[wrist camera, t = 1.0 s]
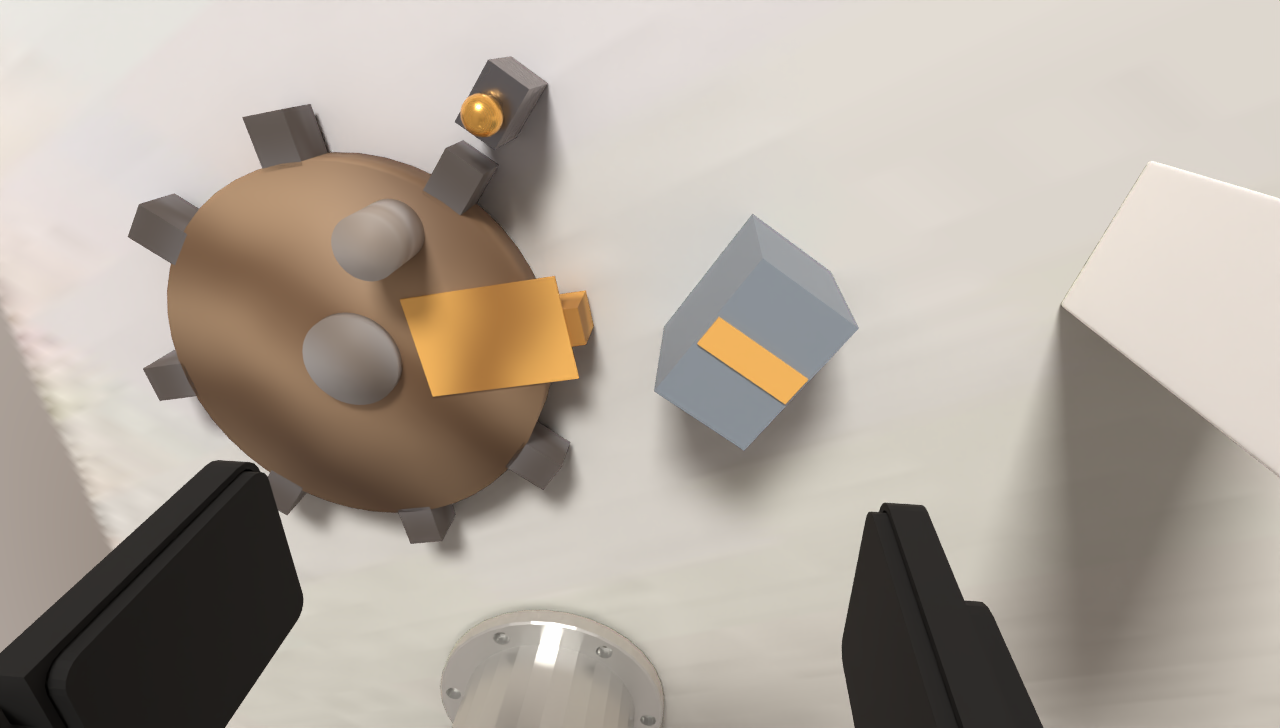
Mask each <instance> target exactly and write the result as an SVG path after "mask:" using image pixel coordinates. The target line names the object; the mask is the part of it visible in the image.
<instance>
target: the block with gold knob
mask: <svg viewBox="0 0 1280 728" xmlns="http://www.w3.org/2000/svg"><path fill="white" fill-rule="evenodd" d="M547 84H548V83H547V82H545V81H544V80H543V79H541V78H540V77H539V76H537V75H536V74H534V73H533V72H532V71H530V70H529V69H528V68H526V67H525V66H524V65H522V64H521V63H519V62H518V61H517V60H515V59H514V58H513V57H504V58H497V59H489V60H488V61H487V63H486V65H485V67H484V68H483V70H482V72H481V74H480V76H479V78H478V80H477V81H476V83H475V85H474V87H473V89H472V91H471V93H470V94H469V96H468V98H467V99H466V100H465V101H464V103H463V104H462V107H461V111H460V113H459V115H458V117H457V119H456V121H455V122H456V123H457V124H458V125H460V126H461V127H463V128H464V129H466V130H467V131H468V132H470V133H471V134H473V135H474V136H476V137H477V138H478V139H480V140H481V141H483V142H484V143H486V144H487V145H488V146H490V147H491V148H493V149H494V150H495V149H497V148H499V147H500V146H502V145H504V144H506V143H508V142H509V141H511V140H513V139H515V138H516V137H517V135H518V133H519V132H520V130H521V128H522V127H523V125H524V123H525V121H526V120H527V118H528V116H529V115H530V113H531V111H532V109H533V108H534V106H535V104H536V103H537V101H538V99H539V98H540V96H541V94H542V92H543V91H544V89H545V87H546V86H547Z"/></svg>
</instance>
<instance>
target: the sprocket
mask: <svg viewBox="0 0 1280 728" xmlns="http://www.w3.org/2000/svg"><path fill="white" fill-rule="evenodd" d="M242 118H243V120H244V123H245V125H246V128H247V130H248V133H249V135H250V138H251V140H252V143H253V146H254V148H255V151H256V153H257V156H258V158H259V161H260V163H261V166H262V169H259V170H256V171H254V172H252V173H250V174H247V175H245V176H243V177H241V178H239V179H236V180H234V181H233V182H231V183H230V184H228V185H227V186H225V187H224V188H222V189H221V190H220V191H218V192H217V193H215V194H214V195H213V196H212V197H211V198H210V199H209V200H208V201H207V202H206V203H205V204H204V205H203V206H202V207H201V208H200V209H198V208H197V207H195V206H194V205H192V204H190V203H189V202H187V201H186V200H184V199H182V198H181V197H179V196H178V195H176V194H171V195H168V196H165V197H161V198H158V199H155V200H151V201H148V202H145V203H142V204H139V206H138V209H137V212H136V215H135V217H134V220H133V223H132V226H131V229H130V232H129V235H128V237H129V238H130V239H132V240H134V241H135V242H137V243H139V244H140V245H142V246H144V247H145V248H147V249H148V250H150V251H152V252H153V253H155V254H157V255H158V256H160V257H162V258H163V259H165V260H167V261H168V262H170V263H171V267H170V273H169V280H168V288H167V303H168V318H169V324H170V330H171V336H172V340H173V343H174V346H175V350H173V351H172V352H170V353H168V354H167V355H165V356H163V357H162V358H160V359H158V360H157V361H155V362H153V363H152V364H150V365H148V366H147V367H145V368H143V370H144V372H145V374H146V375H147V377H148V379H149V381H150V383H151V385H152V387H153V389H154V391H155V393H156V394H157V396H158V398H159V400H160V401H162V400H170V399H177V398H185V397H193V396H197V398H198V400H199V401H200V403H201V404H202V405H203V407H204V408H205V410H206V411H207V412H208V414H209V415H210V417H211V418H212V419H213V421H214V422H215V423H216V424H217V425H218V426H219V427H220V429H221V430H222V431H223V432H224V433H225V434H226V435H227V437H228V438H229V439H230V440H231V441H232V442H234V443H235V444H236V445H237V446H238V447H239V448H240V449H241V450H242V451H243V452H244V453H245V454H246V455H248V456H249V457H250V458H252V459H253V460H254V461H255V462H257V463H258V464H259V465H261V466H262V467H263V468H265V469H266V470H267V471H269V472H270V474H269V476H268V479H269V482H270V485H271V488H272V492H273V495H274V499H275V502H276V505H277V509H278V510H279V511H280V512H282V513H284V514H286V515H288V514H289V513H290V511H291V510H292V509H293V508H294V507H295V506H296V505H297V503H298V502H299V501H300V500H301V499H302V498H303V497H304V495H305V494H306V493H309V494H311V495H314V496H317V497H319V498H322V499H324V500H327V501H330V502H333V503H337V504H340V505H344V506H347V507H351V508H357V509H363V510H368V511H377V512H391V513H397V512H398V513H399V515H400V518H401V520H402V523H403V526H404V528H405V531H406V533H407V536H408V538H409V541H410V543H411V544H414V543H425V542H436V541H442V540H443V538H444V536H445V534H446V533H447V531H448V529H449V527H450V525H451V523H452V521H453V519H454V517H455V515H456V514H455V511H454V508H453V505H452V504H453V503H456V502H458V501H460V500H463V499H465V498H467V497H470V496H472V495H474V494H475V493H477V492H479V491H480V490H482V489H484V488H485V487H487V486H488V485H490V484H491V483H492V482H494V481H495V480H496V479H497V478H498V477H499V476H501V475H502V474H503V473H504V472H505V471H506V470H507V469H510V470H511V471H513V472H515V473H516V474H518V475H520V476H521V477H523V478H524V479H526V480H528V481H529V482H531V483H533V484H534V485H536V486H538V487H539V488H541V489H543V490H544V488H545V487H546V486H547V485H548V483H549V482H550V481H551V479H552V478H553V477H554V476H555V474H556V473H557V472H558V471H559V469H560V468H561V467H562V465H563V462H564V459H565V456H566V453H567V450H568V447H569V444H570V442H569V441H567V440H566V439H564V438H563V437H561V436H559V435H558V434H556V433H555V432H553V431H552V430H550V429H548V428H547V427H545V426H544V425H542V424H540V423H539V422H537V420H538V418H539V415H540V413H541V411H542V408H543V406H544V404H545V401H546V399H547V395H548V391H549V388H550V384H551V382H555V381H563V380H571V379H579V374H578V370H577V366H576V362H575V358H574V354H573V349H572V346H580V345H586V344H587V341H588V339H589V336H590V334H591V331H592V328H593V326H594V325H593V321H592V316H591V312H590V307H589V303H588V299H587V294H586V291H579V292H572V293H566V294H559V291H558V287H557V283H556V279H555V276H552V277H545V278H538V279H536V278H535V276H534V274H533V272H532V270H531V268H530V266H529V265H528V263H527V262H526V260H525V258H524V257H523V255H522V254H521V252H520V250H519V249H518V247H517V246H516V245H515V244H514V242H513V241H512V240H511V239H510V237H509V236H508V235H507V234H506V232H505V231H504V230H503V229H502V227H501V226H500V225H499V224H498V223H497V222H496V221H495V220H494V219H493V218H492V217H491V216H489V215H488V214H487V213H486V212H485V211H484V210H483V209H482V208H481V207H480V206H479V205H477V204H476V203H477V201H478V200H479V198H480V196H481V195H482V193H483V191H484V189H485V188H486V186H487V184H488V183H489V181H490V179H491V177H492V176H493V174H494V172H495V171H496V169H497V167H498V164H497V163H495V162H494V161H492V160H491V159H489V158H488V157H486V156H485V155H484V154H482V153H481V152H479V151H478V150H476V149H475V148H474V147H472V146H471V145H469V144H468V143H466V142H465V141H464V140H463V141H461V142H458V143H456V144H454V145H452V146H450V147H447V148H446V149H445V150H444V152H443V154H442V156H441V158H440V160H439V162H438V163H437V165H436V167H435V169H434V171H433V173H432V174H429V173H427V172H425V171H422V170H420V169H418V168H416V167H413V166H411V165H408V164H405V163H401V162H398V161H395V160H392V159H388V158H385V157H379V156H373V155H367V154H361V153H340V152H332V153H328V152H327V149H326V146H325V143H324V141H323V138H322V135H321V132H320V129H319V126H318V124H317V121H316V118H315V115H314V112H313V110H312V107H311V104H308V105H303V106H297V107H292V108H287V109H281V110H276V111H271V112H266V113H261V114H256V115H251V116H246V117H242Z"/></svg>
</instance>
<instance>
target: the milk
mask: <svg viewBox="0 0 1280 728" xmlns="http://www.w3.org/2000/svg"><path fill="white" fill-rule="evenodd" d="M1061 305H1062V307H1063V308H1065V309H1066V310H1067V311H1068V312H1070V313H1071V314H1072V315H1073V316H1075V317H1076V318H1077V319H1079V320H1080V321H1081V322H1082V323H1084V324H1085V325H1086V326H1087V327H1089V328H1090V329H1091V330H1093V331H1094V332H1095V333H1096V334H1098V335H1099V336H1100V337H1101V338H1103V339H1104V340H1105V341H1107V342H1108V343H1109V344H1110V345H1112V346H1113V347H1114V348H1115V349H1117V350H1118V351H1119V352H1121V353H1122V354H1123V355H1124V356H1126V357H1127V358H1128V359H1129V360H1131V361H1132V362H1133V363H1135V364H1136V365H1137V366H1138V367H1140V368H1141V369H1142V370H1143V371H1145V372H1146V373H1147V374H1149V375H1150V376H1151V377H1152V378H1154V379H1155V380H1156V381H1157V382H1159V383H1160V384H1161V385H1163V386H1164V387H1165V388H1166V389H1168V390H1169V391H1170V392H1171V393H1173V394H1174V395H1175V396H1177V397H1178V398H1179V399H1180V400H1182V401H1183V402H1184V403H1185V404H1187V405H1188V406H1189V407H1191V408H1192V409H1193V410H1194V411H1196V412H1197V413H1198V414H1199V415H1201V416H1202V417H1203V418H1205V419H1206V420H1207V421H1208V422H1210V423H1211V424H1212V425H1213V426H1215V427H1216V428H1217V429H1219V430H1220V431H1221V432H1222V433H1224V434H1225V435H1226V436H1227V437H1229V438H1230V439H1231V440H1233V441H1234V442H1235V443H1236V444H1238V445H1239V446H1240V447H1241V448H1243V449H1244V450H1245V451H1247V452H1248V453H1249V454H1250V455H1252V456H1253V457H1254V458H1255V459H1257V460H1258V461H1259V462H1261V463H1262V464H1263V465H1264V466H1266V467H1267V468H1268V469H1269V470H1271V471H1272V472H1273V473H1275V474H1276V475H1277V476H1278V477H1280V198H1276V197H1273V196H1269V195H1266V194H1263V193H1259V192H1256V191H1253V190H1249V189H1246V188H1242V187H1239V186H1236V185H1232V184H1229V183H1226V182H1222V181H1219V180H1215V179H1212V178H1209V177H1205V176H1202V175H1199V174H1195V173H1192V172H1188V171H1185V170H1182V169H1178V168H1175V167H1172V166H1168V165H1165V164H1161V163H1158V162H1154V161H1150V162H1148V164H1147V165H1146V167H1145V168H1144V170H1143V171H1142V173H1141V175H1140V176H1139V178H1138V180H1137V181H1136V183H1135V184H1134V186H1133V188H1132V189H1131V191H1130V193H1129V194H1128V196H1127V197H1126V199H1125V201H1124V202H1123V204H1122V206H1121V207H1120V209H1119V210H1118V212H1117V214H1116V215H1115V217H1114V219H1113V220H1112V222H1111V223H1110V225H1109V227H1108V228H1107V230H1106V232H1105V233H1104V235H1103V236H1102V238H1101V240H1100V241H1099V243H1098V245H1097V246H1096V248H1095V249H1094V251H1093V253H1092V254H1091V256H1090V258H1089V259H1088V261H1087V262H1086V264H1085V266H1084V267H1083V269H1082V271H1081V272H1080V274H1079V275H1078V277H1077V279H1076V280H1075V282H1074V284H1073V285H1072V287H1071V288H1070V290H1069V292H1068V293H1067V295H1066V297H1065V298H1064V300H1063V301H1062V304H1061Z"/></svg>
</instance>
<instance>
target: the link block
mask: <svg viewBox="0 0 1280 728" xmlns="http://www.w3.org/2000/svg"><path fill="white" fill-rule="evenodd" d="M858 329H859V328H858V326H857V324H856V322H855V319H854V317H853V315H852V313H851V311H850V309H849V307H848V305H847V303H846V301H845V299H844V297H843V295H842V293H841V291H840V289H839V287H838V285H837V283H836V281H835V279H834V277H833V275H832V273H831V272H830V271H829V270H828V269H826V268H825V267H824V266H822V265H821V264H820V263H818V262H817V261H816V260H814V259H813V258H812V257H810V256H809V255H807V254H806V253H805V252H803V251H802V250H801V249H799V248H798V247H797V246H795V245H794V244H793V243H791V242H790V241H789V240H787V239H786V238H784V237H783V236H782V235H780V234H779V233H778V232H776V231H775V230H774V229H772V228H771V227H770V226H768V225H767V224H766V223H764V222H763V221H761V220H760V219H759V218H757V217H756V216H755V215H753V214H752V215H751V217H750V218H749V219H748V220H747V222H746V223H745V224H744V226H743V227H742V228H741V229H740V231H739V232H738V233H737V234H736V236H735V237H734V238H733V240H732V241H731V242H730V243H729V245H728V246H727V247H726V248H725V250H724V251H723V252H722V254H721V255H720V256H719V257H718V259H717V260H716V261H715V263H714V264H713V265H712V266H711V268H710V269H709V270H708V271H707V273H706V274H705V275H704V277H703V278H702V279H701V280H700V282H699V283H698V284H697V285H696V287H695V288H694V289H693V291H692V292H691V293H690V294H689V296H688V297H687V298H686V299H685V301H684V302H683V303H682V305H681V306H680V307H679V308H678V310H677V311H676V312H675V314H674V315H673V316H672V317H671V319H670V320H669V321H668V322H667V324H666V325H665V326H664V331H663V337H662V344H661V350H660V356H659V363H658V369H657V376H656V382H655V389H654V392H656V393H657V394H659V395H660V396H662V397H663V398H665V399H667V400H668V401H670V402H671V403H673V404H674V405H676V406H677V407H679V408H680V409H682V410H683V411H685V412H686V413H688V414H689V415H691V416H692V417H694V418H695V419H697V420H698V421H700V422H701V423H703V424H704V425H706V426H707V427H709V428H710V429H712V430H713V431H715V432H716V433H718V434H719V435H721V436H722V437H724V438H725V439H727V440H729V441H730V442H732V443H733V444H735V445H736V446H738V447H739V448H741V449H742V450H745V449H746V448H747V447H748V446H749V445H750V444H751V443H752V442H753V441H754V440H755V439H756V438H757V436H758V435H759V434H760V433H761V432H762V431H763V430H764V429H765V428H766V427H767V426H768V425H769V424H770V423H771V422H772V420H773V419H774V418H775V417H776V416H777V415H778V414H779V413H780V412H781V411H782V410H783V409H784V408H785V407H786V405H787V404H788V403H789V402H790V401H791V400H792V399H793V398H794V397H795V396H796V395H797V394H798V393H799V392H800V391H801V389H802V388H803V387H804V386H805V385H806V384H807V383H808V382H809V381H810V380H811V379H812V378H813V377H814V376H815V374H816V373H817V372H818V371H819V370H820V369H821V368H822V367H823V366H824V365H825V364H826V363H827V362H828V361H829V360H830V358H831V357H832V356H833V355H834V354H835V353H836V352H837V351H838V350H839V349H840V348H841V347H842V346H843V345H844V343H845V342H846V341H847V340H848V339H849V338H850V337H851V336H852V335H853V334H854V333H855V332H856V331H857V330H858Z"/></svg>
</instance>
